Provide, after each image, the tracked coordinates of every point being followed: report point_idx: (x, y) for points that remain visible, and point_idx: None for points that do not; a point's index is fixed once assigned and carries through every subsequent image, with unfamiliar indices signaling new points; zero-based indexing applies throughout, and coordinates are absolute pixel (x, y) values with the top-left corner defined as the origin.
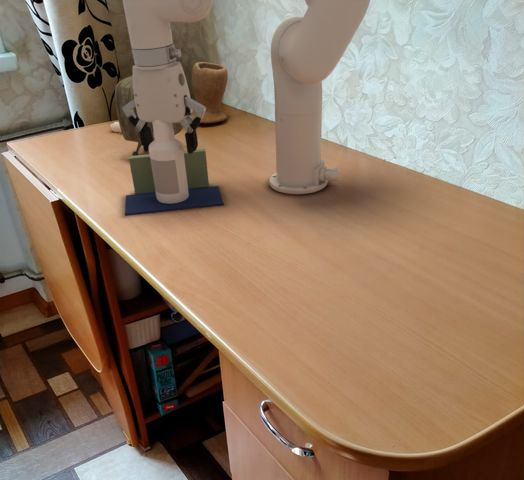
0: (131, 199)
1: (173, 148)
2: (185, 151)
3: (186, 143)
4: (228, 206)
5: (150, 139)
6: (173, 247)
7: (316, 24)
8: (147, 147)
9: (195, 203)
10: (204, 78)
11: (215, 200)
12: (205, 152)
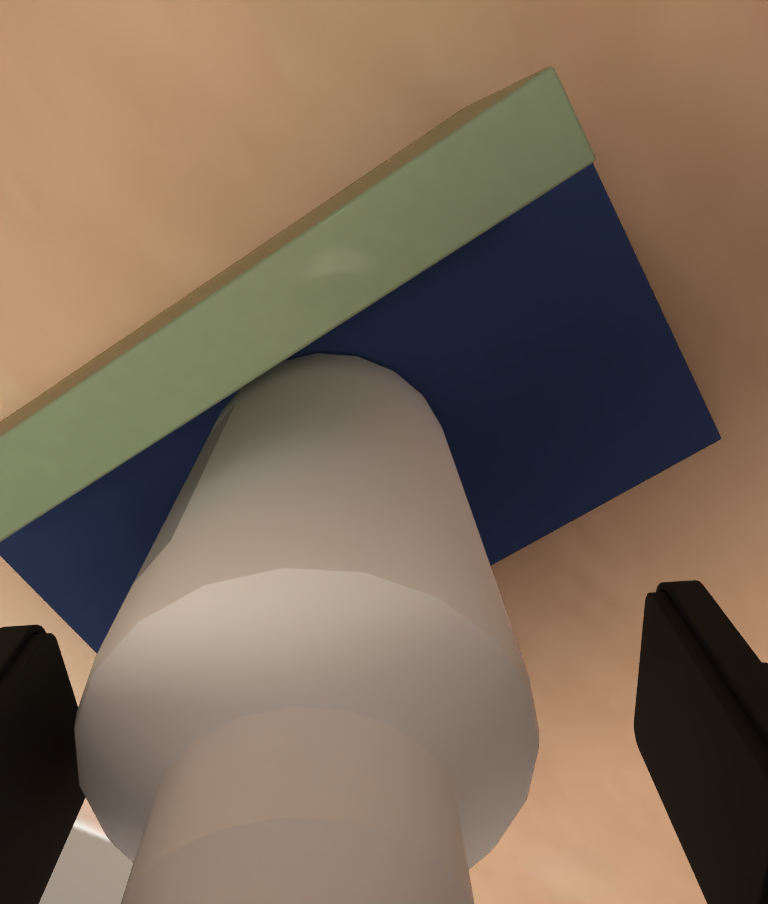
0: (64, 570)
1: (494, 844)
2: (331, 259)
3: (685, 841)
4: (752, 440)
5: (13, 758)
6: (610, 888)
7: None
8: (76, 792)
9: (530, 497)
10: None
11: (651, 414)
12: (590, 162)
